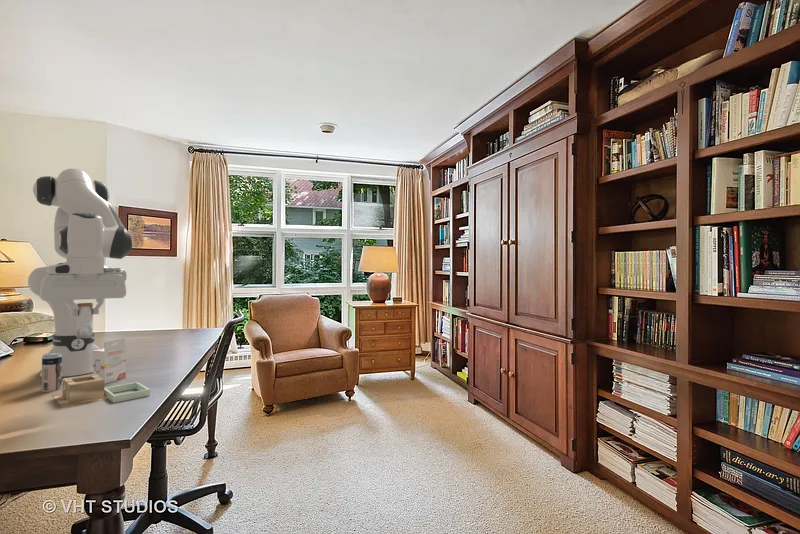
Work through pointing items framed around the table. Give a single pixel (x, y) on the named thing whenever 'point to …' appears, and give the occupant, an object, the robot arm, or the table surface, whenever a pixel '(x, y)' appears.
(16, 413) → the table surface
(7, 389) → the table surface
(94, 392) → the block
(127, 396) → the tray
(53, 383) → the beer can
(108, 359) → the ink cartridge box
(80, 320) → the steel pin
